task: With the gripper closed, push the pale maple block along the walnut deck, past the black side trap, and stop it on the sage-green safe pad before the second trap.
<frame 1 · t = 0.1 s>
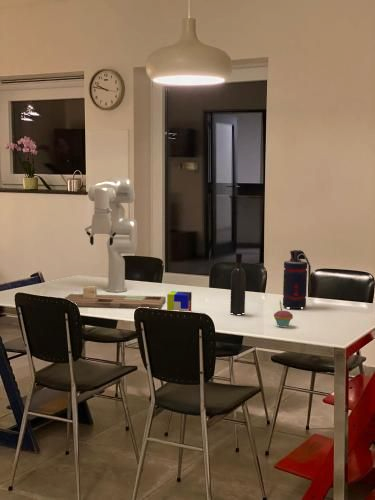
hand: (101, 244, 346), 31 cm above the table, fingers open, 9 cm apart
puzzle toy: (179, 313, 330), on the table
trap deck: (113, 303, 352), on the table
wine bottle: (237, 314, 329), on the table
maple block: (90, 296, 359), point 2 cm above the table, touching trap deck
cupcake: (283, 326, 304), on the table
grenade: (296, 308, 349), on the table
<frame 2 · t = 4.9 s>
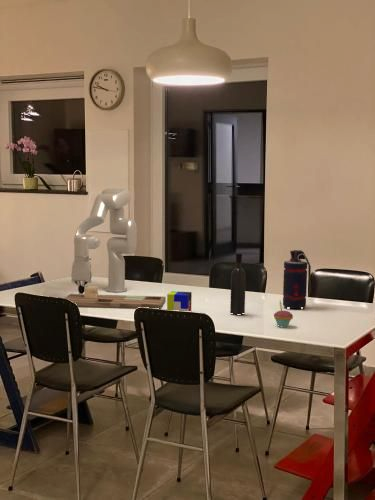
hand: (81, 293, 359), 4 cm above the table, fingers closed
maple block: (91, 296, 358), point 2 cm above the table, touching gripper, trap deck
everything else where it was.
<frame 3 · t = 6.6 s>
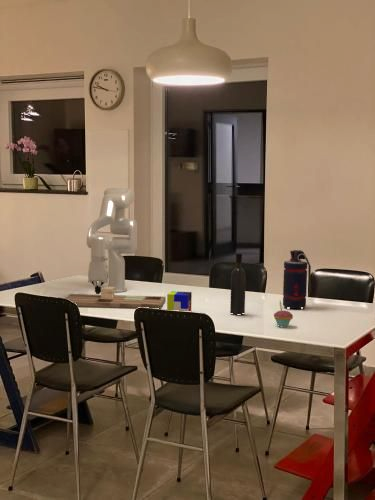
hand: (97, 293, 358), 4 cm above the table, fingers closed
maple block: (107, 297, 357), point 3 cm above the table
everything else where it was.
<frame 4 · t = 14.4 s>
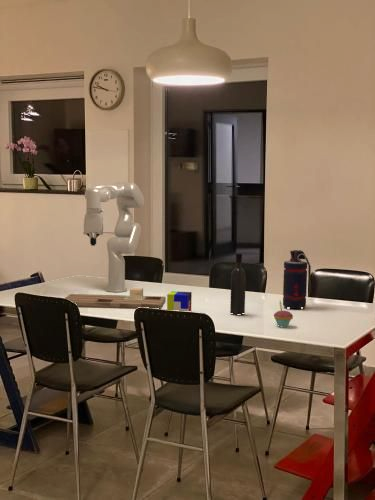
hand: (93, 245, 364), 29 cm above the table, fingers closed
maple block: (136, 298, 356), point 2 cm above the table, touching trap deck
everything else where it was.
at the end: maple block inside the target area (2.5 cm from its centre), point 2.5 cm above the table; maple block tilted 0° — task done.
